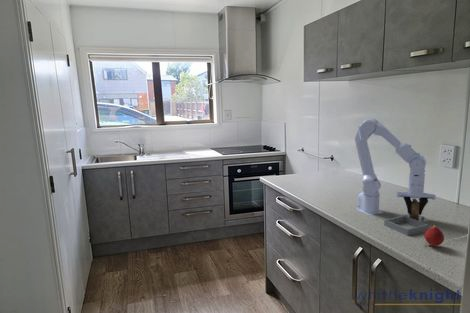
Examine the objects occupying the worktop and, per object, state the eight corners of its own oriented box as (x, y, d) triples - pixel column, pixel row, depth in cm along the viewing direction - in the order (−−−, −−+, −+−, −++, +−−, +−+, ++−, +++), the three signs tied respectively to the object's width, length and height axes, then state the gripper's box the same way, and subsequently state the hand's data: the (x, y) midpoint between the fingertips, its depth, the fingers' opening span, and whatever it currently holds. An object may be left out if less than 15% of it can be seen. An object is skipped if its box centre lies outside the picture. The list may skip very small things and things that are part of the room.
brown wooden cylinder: (410, 219, 133) (411, 201, 132) (408, 215, 138) (409, 198, 136) (419, 219, 132) (421, 202, 131) (417, 216, 137) (418, 198, 135)
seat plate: (397, 217, 138) (397, 214, 137) (412, 214, 141) (412, 211, 140) (415, 224, 129) (415, 221, 129) (430, 221, 132) (431, 217, 132)
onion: (435, 242, 113) (437, 222, 112) (446, 249, 107) (448, 228, 106) (420, 243, 113) (421, 222, 112) (430, 250, 107) (432, 229, 106)
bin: (384, 226, 129) (384, 219, 128) (404, 222, 133) (404, 215, 132) (407, 237, 118) (407, 229, 118) (428, 231, 122) (428, 224, 122)
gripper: (433, 182, 134) (431, 211, 136) (396, 180, 138) (394, 209, 141) (437, 186, 127) (435, 217, 129) (398, 184, 132) (397, 214, 134)
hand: (414, 213), depth 135 cm, fingers closed on brown wooden cylinder, 4 cm apart
